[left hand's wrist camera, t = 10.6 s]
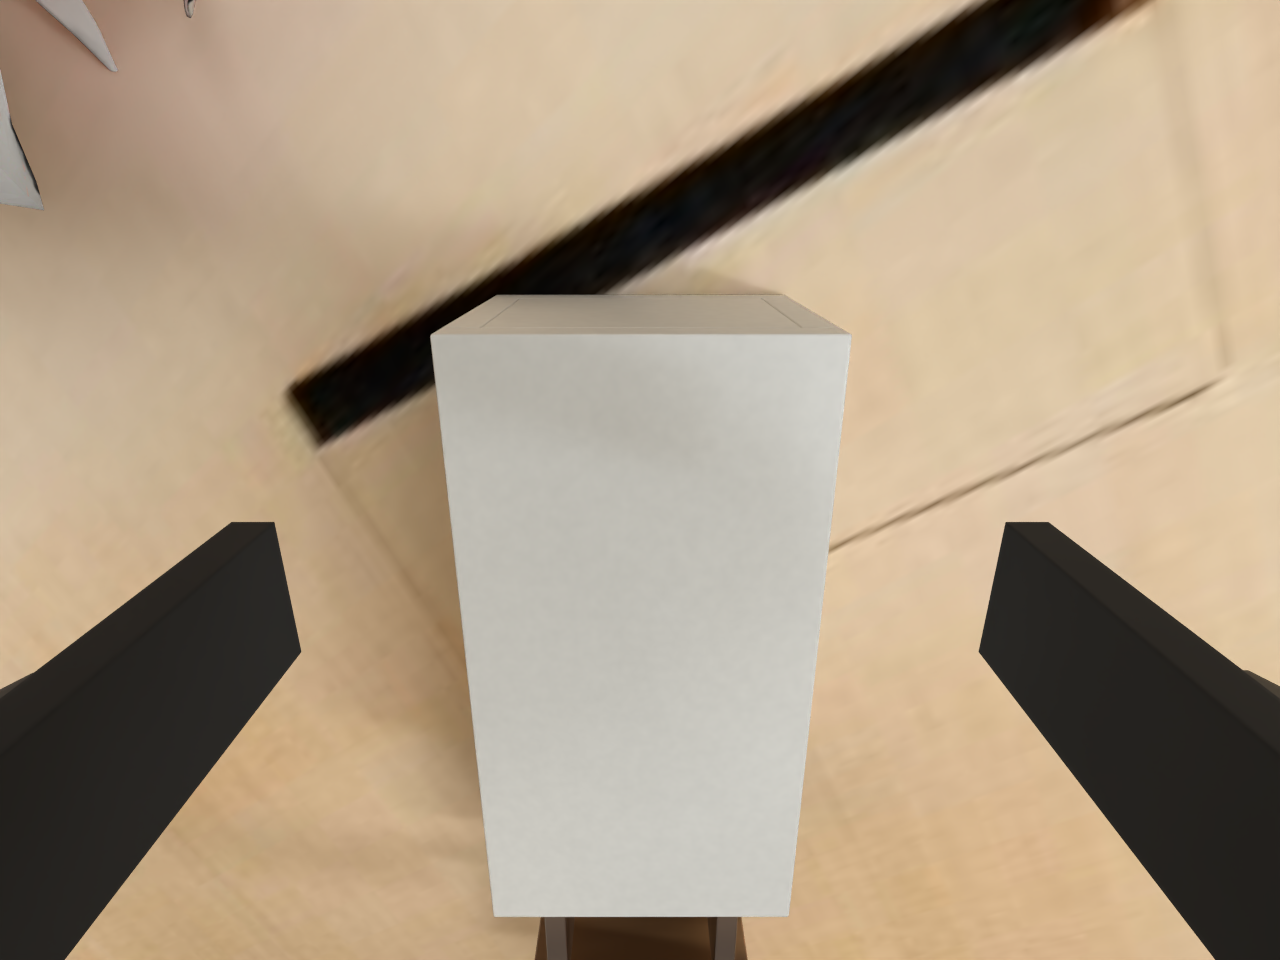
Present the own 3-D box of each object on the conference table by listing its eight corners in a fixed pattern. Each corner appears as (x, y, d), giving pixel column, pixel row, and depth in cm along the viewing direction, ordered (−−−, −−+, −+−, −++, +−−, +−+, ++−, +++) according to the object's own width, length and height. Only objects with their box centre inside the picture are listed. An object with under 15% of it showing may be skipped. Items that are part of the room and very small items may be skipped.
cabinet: (752, 744, 32) (789, 917, 24) (528, 744, 32) (493, 918, 24) (785, 294, 25) (853, 334, 17) (496, 294, 25) (429, 334, 17)
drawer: (729, 961, 36) (746, 1110, 30) (552, 961, 36) (535, 1111, 30) (757, 543, 27) (790, 637, 21) (524, 544, 27) (491, 637, 21)
